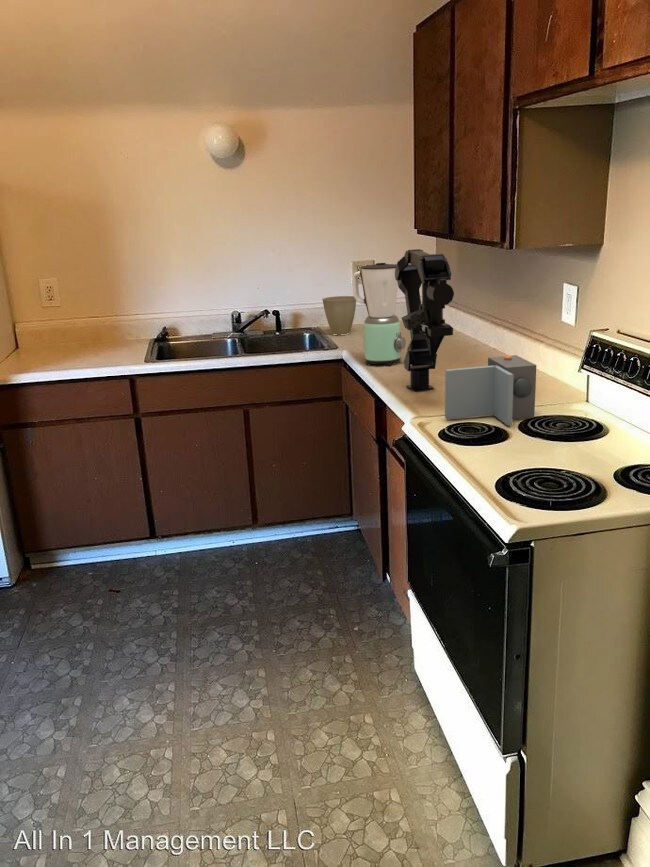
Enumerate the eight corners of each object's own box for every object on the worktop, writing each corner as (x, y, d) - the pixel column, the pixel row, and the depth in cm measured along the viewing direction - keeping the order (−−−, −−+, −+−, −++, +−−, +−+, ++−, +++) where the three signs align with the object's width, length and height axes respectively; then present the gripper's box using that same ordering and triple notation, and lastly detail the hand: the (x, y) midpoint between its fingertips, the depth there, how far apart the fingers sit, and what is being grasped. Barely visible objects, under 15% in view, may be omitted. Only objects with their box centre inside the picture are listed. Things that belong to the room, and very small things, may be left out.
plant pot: (364, 333, 314) (363, 297, 309) (338, 338, 306) (336, 301, 301) (343, 330, 325) (342, 294, 321) (317, 334, 317) (315, 298, 312)
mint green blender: (411, 360, 259) (410, 261, 248) (397, 368, 248) (395, 265, 237) (363, 357, 267) (360, 261, 256) (348, 365, 256) (344, 265, 245)
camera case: (486, 407, 197) (487, 354, 193) (514, 404, 198) (516, 352, 194) (506, 421, 184) (508, 365, 179) (536, 419, 185) (538, 363, 180)
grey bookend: (444, 417, 189) (444, 369, 185) (494, 412, 191) (496, 364, 187) (458, 430, 178) (458, 379, 174) (512, 424, 180) (513, 374, 176)
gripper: (395, 298, 206) (397, 352, 211) (413, 307, 188) (413, 365, 193) (433, 296, 207) (433, 349, 212) (453, 304, 190) (453, 361, 195)
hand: (432, 356), depth 203 cm, fingers closed
